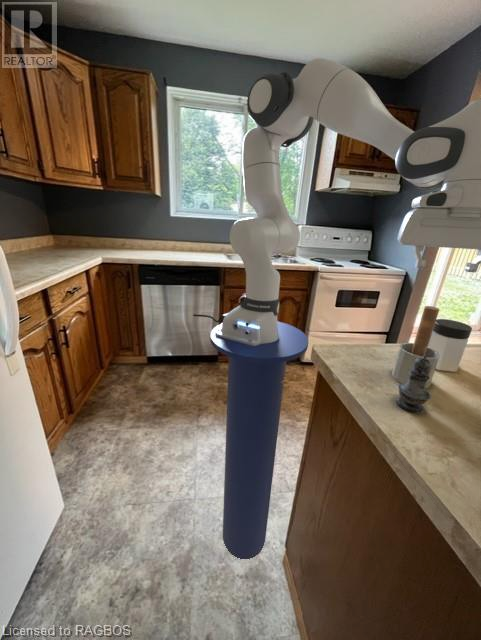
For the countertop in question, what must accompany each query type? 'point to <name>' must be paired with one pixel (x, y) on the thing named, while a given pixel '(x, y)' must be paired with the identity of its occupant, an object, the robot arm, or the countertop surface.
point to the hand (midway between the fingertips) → (444, 269)
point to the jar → (449, 343)
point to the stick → (425, 330)
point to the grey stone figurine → (415, 387)
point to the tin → (412, 363)
